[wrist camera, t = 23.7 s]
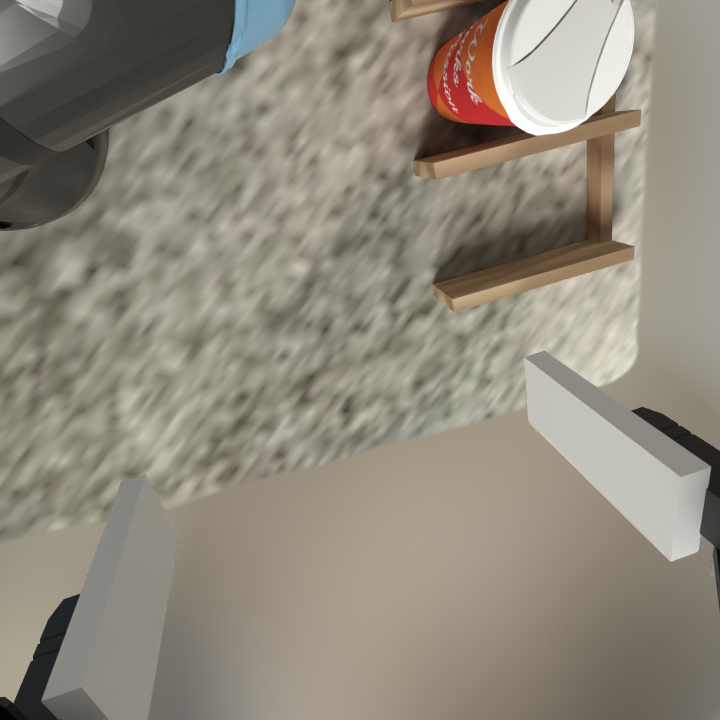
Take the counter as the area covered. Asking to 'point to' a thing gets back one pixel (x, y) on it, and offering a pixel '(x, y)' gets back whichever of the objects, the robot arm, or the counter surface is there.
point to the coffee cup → (534, 64)
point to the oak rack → (599, 156)
